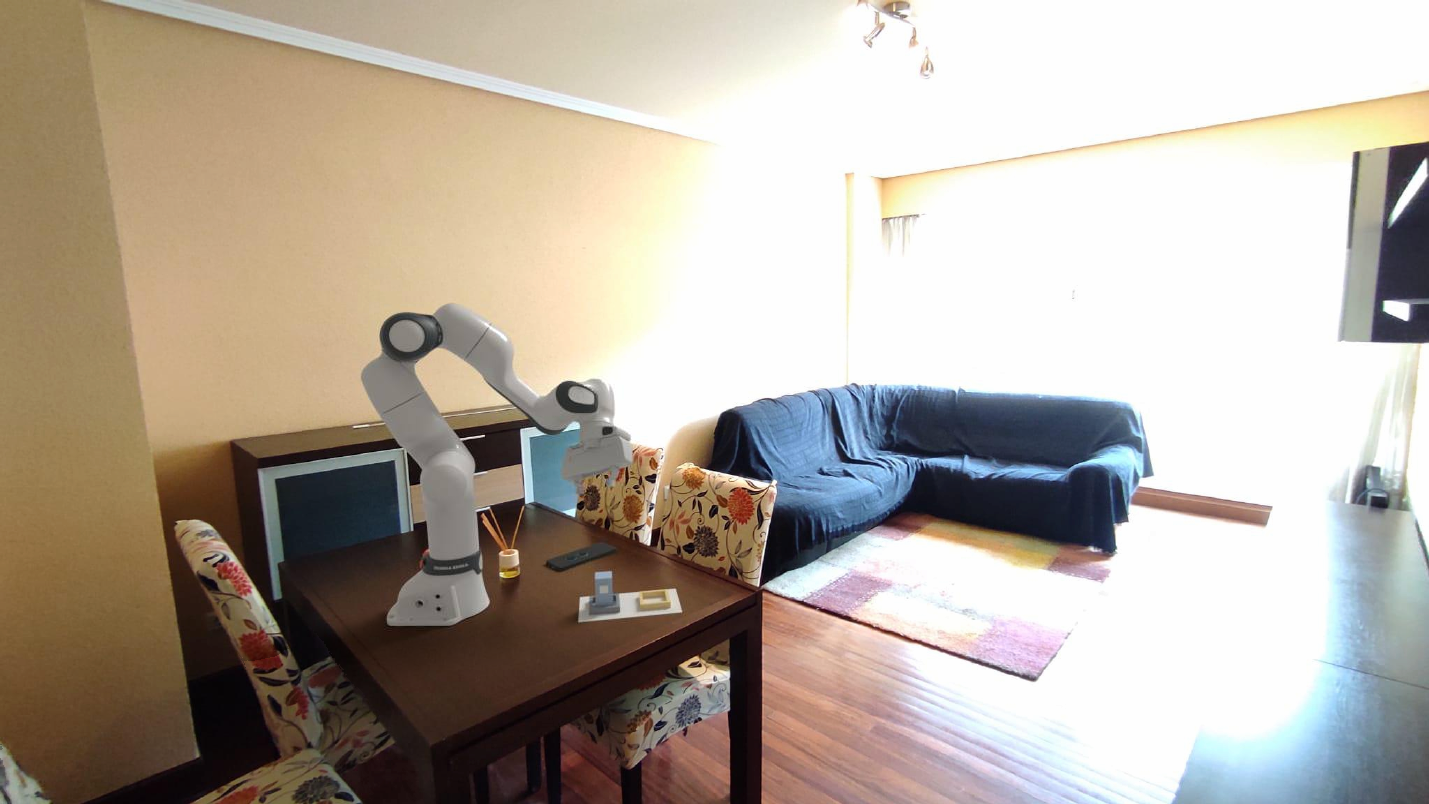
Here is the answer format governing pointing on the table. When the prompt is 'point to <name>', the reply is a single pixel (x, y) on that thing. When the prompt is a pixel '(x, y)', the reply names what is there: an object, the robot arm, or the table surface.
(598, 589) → the plug
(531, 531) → the table surface
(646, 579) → the table surface
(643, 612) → the white board with frames
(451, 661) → the table surface
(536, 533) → the table surface
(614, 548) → the smart home device
